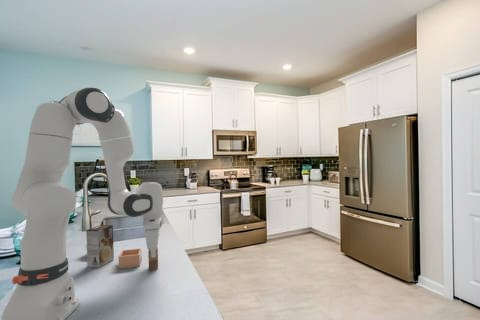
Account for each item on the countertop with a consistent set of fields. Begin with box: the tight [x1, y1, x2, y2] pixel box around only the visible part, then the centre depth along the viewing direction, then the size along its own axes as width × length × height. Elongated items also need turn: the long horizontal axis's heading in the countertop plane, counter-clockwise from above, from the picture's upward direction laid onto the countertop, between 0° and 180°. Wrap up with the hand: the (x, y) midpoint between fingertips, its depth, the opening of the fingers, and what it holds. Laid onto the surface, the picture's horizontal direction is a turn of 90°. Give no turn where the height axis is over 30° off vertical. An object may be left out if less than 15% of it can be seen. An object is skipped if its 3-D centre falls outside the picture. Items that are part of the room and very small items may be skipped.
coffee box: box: [85, 224, 115, 268], centre depth 114 cm, size 9×6×16 cm
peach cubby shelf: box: [118, 248, 143, 269], centre depth 113 cm, size 8×8×5 cm
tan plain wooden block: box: [147, 246, 159, 271], centre depth 108 cm, size 4×4×8 cm
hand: (154, 252), depth 108 cm, fingers open, 8 cm apart
